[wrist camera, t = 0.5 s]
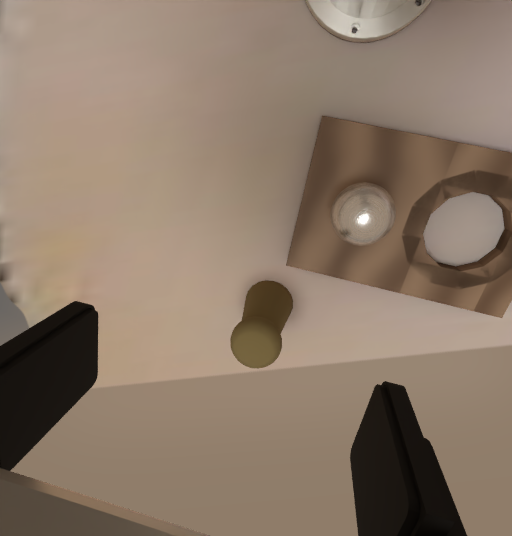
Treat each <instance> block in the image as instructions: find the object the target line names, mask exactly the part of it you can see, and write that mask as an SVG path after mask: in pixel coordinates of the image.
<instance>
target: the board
mask: <svg viewBox="0 0 512 536" xmlns="http://www.w3.org/2000/svg"><path fill="white" fill-rule="evenodd" d="M363 182H364V183H373V184H376V185H379V186H381V187H382V188H384V189H385V190H386V191H387V192H388V193H389V194H390V195H391V197H392V199H393V201H394V204H395V208H396V217H395V222H394V224H393V227H392V228H391V230H390V231H389V233H388V234H387V235H386V236H385V237H384V238H383V239H381V240H380V241H378V242H376V243H373V244H370V245H364V246H359V245H353V244H350V243H348V242H346V241H344V240H342V239H341V238H340V237H339V236H338V235H337V234H336V232H335V231H334V229H333V227H332V224H331V218H330V214H331V208H332V204H333V202H334V200H335V198H336V197H337V196H338V194H339V193H340V192H341V191H343V190H344V189H345V188H347V187H349V186H351V185H353V184H356V183H363ZM470 192H476V193H481V194H486V195H489V196H490V197H491V198H492V199H493V200H494V201H495V202H496V203H497V204H498V205H499V206H500V207H501V208H502V210H503V218H504V226H505V229H504V232H503V234H502V236H501V238H500V240H499V242H498V244H497V246H496V248H495V249H494V250H492V251H491V252H490V253H488V254H487V255H486V256H484V257H483V258H482V259H480V260H479V261H478V262H474V263H470V264H465V265H461V266H457V267H455V266H450V265H446V264H442V263H438V262H435V261H434V260H433V259H432V258H431V257H430V256H429V255H428V254H427V253H426V248H425V243H424V238H423V232H424V230H425V227H426V225H427V222H428V220H429V217H430V214H431V213H433V212H434V211H435V210H436V209H437V208H438V207H439V206H441V205H442V204H443V203H444V202H445V201H446V200H448V199H449V198H452V197H456V196H459V195H463V194H466V193H470ZM286 265H287V266H291V267H295V268H300V269H304V270H308V271H312V272H316V273H320V274H324V275H328V276H332V277H336V278H340V279H344V280H349V281H353V282H357V283H361V284H365V285H369V286H373V287H377V288H381V289H385V290H389V291H393V292H398V293H402V294H406V295H410V296H414V297H418V298H422V299H426V300H430V301H434V302H438V303H443V304H447V305H451V306H455V307H459V308H463V309H467V310H471V311H475V312H479V313H483V314H487V315H492V316H496V317H500V318H502V317H503V315H504V313H505V311H506V310H507V308H508V306H509V304H510V302H511V300H512V153H509V152H504V151H499V150H494V149H489V148H484V147H479V146H474V145H469V144H463V143H458V142H453V141H448V140H443V139H438V138H433V137H428V136H423V135H418V134H413V133H407V132H402V131H397V130H392V129H387V128H382V127H377V126H372V125H367V124H362V123H357V122H352V121H346V120H341V119H336V118H331V117H326V116H322V119H321V124H320V128H319V132H318V136H317V140H316V144H315V148H314V152H313V157H312V161H311V165H310V169H309V173H308V177H307V181H306V185H305V190H304V194H303V198H302V202H301V206H300V210H299V214H298V218H297V223H296V227H295V231H294V235H293V239H292V243H291V247H290V251H289V256H288V260H287V264H286Z"/></svg>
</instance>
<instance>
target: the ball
mask: <svg viewBox="0 0 512 536" xmlns="http://www.w3.org/2000/svg"><path fill="white" fill-rule="evenodd" d="M395 217H396V208H395V204H394V201H393V199H392V197H391V195H390V194H389V193H388V192H387V191H386V190H385V189H384V188H382V187H381V186H379V185H376V184H373V183H364V182H363V183H356V184H353V185H351V186H349V187H347V188H345V189H344V190H343V191H341V192H340V193H339V194H338V196H337V197H336V198H335V200H334V202H333V204H332V208H331V214H330V218H331V224H332V227H333V229H334V231H335V232H336V234H337V235H338V236H339V237H340V238H341V239H342V240H344V241H346V242H348V243H350V244H353V245H359V246H364V245H370V244H373V243H376V242H378V241H380V240H381V239H383V238H384V237H385V236H386V235H387V234H388V233H389V231H390V230H391V228H392V227H393V224H394V222H395Z"/></svg>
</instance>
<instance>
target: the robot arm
mask: <svg viewBox="0 0 512 536" xmlns="http://www.w3.org/2000/svg"><path fill="white" fill-rule="evenodd" d="M305 1H306V3H307V5H308V7H309V9H310V11H311V13H312V15H313V16H314V17H315V19H316V20H317V21H318V22H319V24H320V25H321V26H322V27H323V28H325V29H326V30H327V31H328V32H330V33H331V34H333V35H335V36H337V37H339V38H341V39H344V40H348V41H353V42H371V41H376V40H381V39H384V38H386V37H388V36H391V35H393V34H395V33H397V32H398V31H400V30H402V29H403V28H405V27H406V26H408V25H409V24H410V23H411V22H412V21H413V20H415V19H416V18H417V17H418V16H419V15H420V14H421V13H422V12H423V10H424V9H425V8H426V7H427V6H428V4H429V3H430V2H431V0H305ZM416 1H420V6H417V5H416V4H415V2H416ZM354 28H355V29H357V33H355V34H353V33H352V29H354ZM97 374H98V312H97V311H95V308H94V306H92V305H90V304H86V303H82V302H78V301H74V302H72V303H70V304H69V305H67V306H66V307H64V308H62V309H61V310H59V311H57V312H56V313H54V314H52V315H51V316H49V317H47V318H46V319H44V320H42V321H41V322H39V323H37V324H36V325H34V326H33V327H31V328H29V329H28V330H26V331H24V332H23V333H21V334H20V335H18V336H16V337H14V338H13V339H11V340H9V341H8V342H6V343H5V344H3V345H1V346H0V536H209V535H206V534H203V533H200V532H197V531H194V530H190V529H188V528H185V527H182V526H178V525H176V524H173V523H169V522H166V521H163V520H160V519H157V518H154V517H151V516H148V515H145V514H142V513H139V512H136V511H133V510H130V509H126V508H123V507H120V506H117V505H114V504H111V503H108V502H105V501H102V500H99V499H95V498H93V497H89V496H86V495H83V494H80V493H77V492H74V491H71V490H68V489H64V488H61V487H58V486H55V485H51V484H48V483H46V482H42V481H39V480H36V479H33V478H30V477H26V476H24V475H20V474H17V473H14V472H11V471H10V470H11V469H12V468H14V467H15V465H16V464H17V463H18V462H19V461H20V460H21V459H22V458H23V457H24V456H25V455H26V454H27V453H28V452H29V451H30V450H31V449H32V448H33V447H34V446H35V445H36V444H37V443H38V442H39V441H40V440H41V439H42V438H43V437H44V436H45V435H46V433H47V432H48V431H49V430H50V429H51V428H52V427H53V426H54V425H55V424H56V423H57V422H58V421H59V420H60V419H61V418H62V417H63V416H64V415H65V414H66V413H67V412H68V411H69V410H70V409H71V408H72V406H74V405H75V404H76V403H77V402H78V400H79V399H80V398H81V397H82V396H83V395H84V394H85V393H86V392H87V391H88V390H89V389H90V388H91V387H92V386H93V385H94V383H95V381H96V379H97ZM350 461H351V470H352V480H353V489H354V498H355V508H356V518H357V527H358V536H467V535H466V532H465V529H464V527H463V524H462V522H461V519H460V516H459V514H458V512H457V509H456V506H455V504H454V501H453V499H452V496H451V493H450V491H449V488H448V486H447V483H446V481H445V478H444V475H443V473H442V470H441V468H440V465H439V463H438V460H437V457H436V455H435V453H434V450H433V447H432V445H431V443H430V441H429V440H427V439H426V438H424V437H423V435H422V432H421V429H420V426H419V424H418V421H417V419H416V416H415V413H414V411H413V408H412V405H411V402H410V400H409V397H408V394H407V392H406V389H405V387H404V386H401V385H397V384H393V383H389V382H386V381H385V382H383V383H382V385H378V384H377V385H376V386H375V388H374V391H373V393H372V396H371V398H370V401H369V404H368V407H367V409H366V411H365V414H364V417H363V419H362V422H361V424H360V428H359V430H358V432H357V435H356V437H355V440H354V443H353V445H352V448H351V455H350Z"/></svg>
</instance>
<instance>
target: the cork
mask: <svg viewBox="0 0 512 536" xmlns="http://www.w3.org/2000/svg"><path fill="white" fill-rule="evenodd" d="M292 308H293V300H292V297H291V294H290V293H289V291H288V290H287V288H285V287H284V286H283V285H281V284H280V283H277V282H274V281H262V282H258V283H256V284H255V285H253V286H252V287H251V288H250V290H249V291H248V293H247V296H246V300H245V306H244V311H243V317H242V321H241V322H240V323H238V325H237V326H236V327H235V328H234V330H233V332H232V335H231V349H232V352H233V354H234V356H235V357H236V358H237V360H238V361H239V362H240V363H242V364H243V365H245V366H248V367H250V368H263V367H266V366H268V365H270V364H272V363H273V362H274V361H275V360H276V359H277V358H278V356H279V354H280V351H281V348H282V338H281V335H280V334H281V332H282V329H283V327H284V325H285V323H286V321H287V319H288V317H289V315H290V313H291V310H292Z"/></svg>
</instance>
